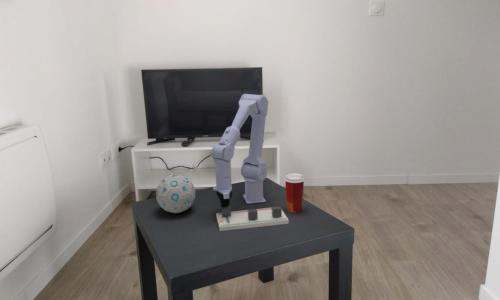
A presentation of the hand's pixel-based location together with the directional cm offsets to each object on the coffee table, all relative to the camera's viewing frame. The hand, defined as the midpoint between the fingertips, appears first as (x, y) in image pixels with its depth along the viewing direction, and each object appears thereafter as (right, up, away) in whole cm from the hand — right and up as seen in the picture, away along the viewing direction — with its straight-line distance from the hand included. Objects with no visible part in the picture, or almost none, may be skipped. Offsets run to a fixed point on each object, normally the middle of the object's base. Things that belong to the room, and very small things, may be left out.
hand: (224, 209), depth 143 cm
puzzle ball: (-19, -2, +6) cm, 20 cm away
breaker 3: (+19, -1, -5) cm, 20 cm away
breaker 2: (+11, -2, -7) cm, 13 cm away
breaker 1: (+1, -2, -4) cm, 4 cm away
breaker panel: (+10, -3, -4) cm, 11 cm away
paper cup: (+27, -1, +4) cm, 27 cm away
